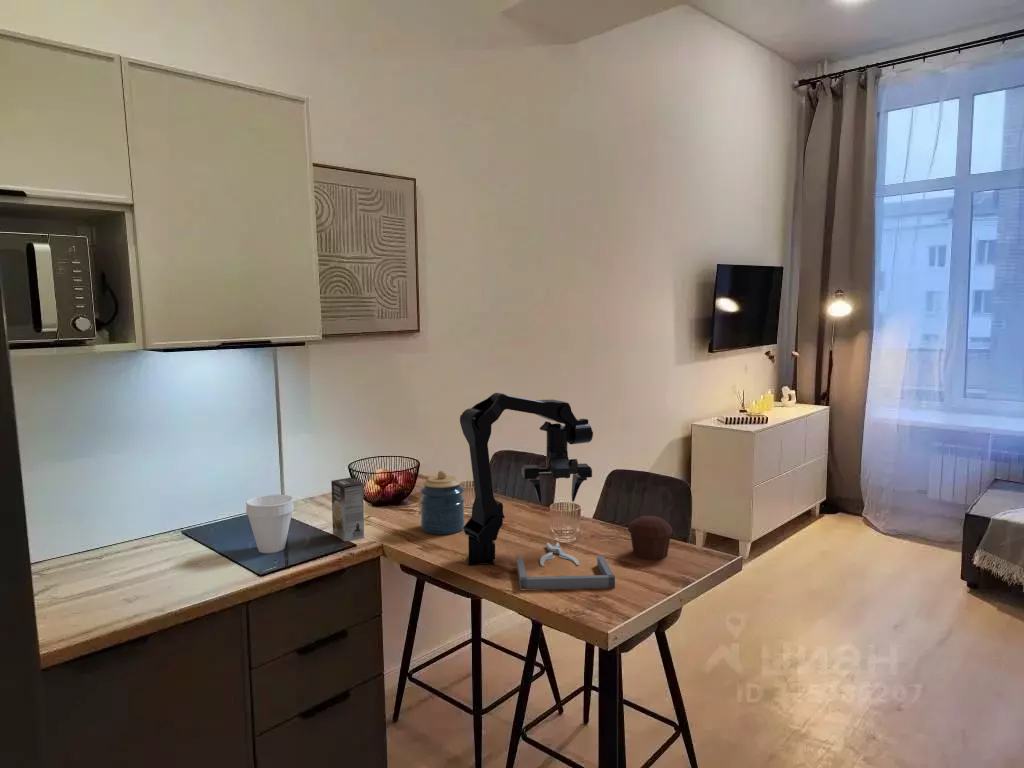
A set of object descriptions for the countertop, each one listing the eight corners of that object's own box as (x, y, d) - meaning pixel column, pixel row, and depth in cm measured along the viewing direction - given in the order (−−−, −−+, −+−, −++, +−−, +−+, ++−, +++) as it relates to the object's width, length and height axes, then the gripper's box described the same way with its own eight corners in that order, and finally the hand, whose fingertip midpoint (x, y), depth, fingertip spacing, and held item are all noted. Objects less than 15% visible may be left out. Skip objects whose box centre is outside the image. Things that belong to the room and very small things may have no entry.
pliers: (541, 562, 173) (534, 542, 188) (541, 568, 173) (534, 548, 188) (579, 561, 174) (570, 541, 189) (579, 567, 174) (570, 547, 189)
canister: (416, 534, 199) (415, 475, 198) (426, 521, 212) (425, 465, 211) (460, 536, 198) (459, 476, 196) (468, 522, 211) (467, 466, 209)
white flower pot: (291, 539, 196) (290, 492, 194) (298, 552, 185) (296, 502, 183) (245, 545, 190) (243, 497, 189) (249, 559, 179) (247, 508, 178)
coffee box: (331, 534, 200) (330, 480, 199) (352, 529, 204) (350, 477, 203) (344, 542, 193) (343, 486, 191) (365, 537, 197) (364, 482, 195)
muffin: (667, 547, 188) (668, 511, 187) (676, 561, 177) (677, 523, 176) (624, 547, 188) (624, 511, 187) (630, 561, 177) (631, 523, 176)
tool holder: (520, 590, 158) (520, 579, 158) (516, 567, 173) (516, 557, 173) (614, 587, 160) (614, 577, 160) (603, 565, 174) (603, 555, 174)
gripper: (527, 452, 178) (527, 511, 180) (597, 450, 181) (596, 508, 182) (521, 444, 189) (521, 499, 191) (587, 443, 192) (587, 498, 193)
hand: (556, 501), depth 189 cm, fingers open, 9 cm apart
